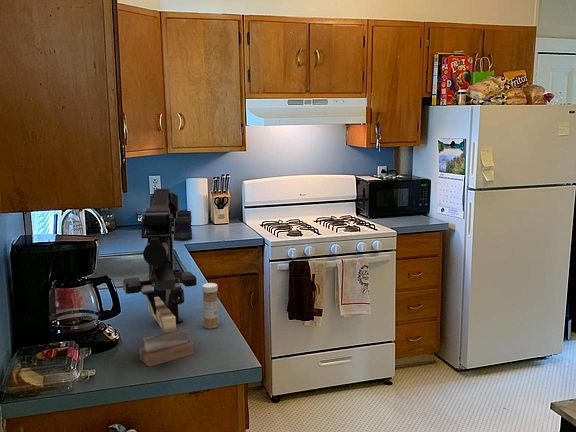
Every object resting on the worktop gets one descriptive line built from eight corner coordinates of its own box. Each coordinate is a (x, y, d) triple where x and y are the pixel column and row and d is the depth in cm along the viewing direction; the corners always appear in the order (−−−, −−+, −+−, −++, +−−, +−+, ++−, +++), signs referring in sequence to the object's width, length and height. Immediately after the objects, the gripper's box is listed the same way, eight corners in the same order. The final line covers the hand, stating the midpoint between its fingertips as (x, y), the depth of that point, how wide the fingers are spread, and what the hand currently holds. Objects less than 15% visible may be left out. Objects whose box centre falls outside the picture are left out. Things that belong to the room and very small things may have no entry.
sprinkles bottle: (212, 322, 178) (211, 281, 176) (221, 326, 175) (220, 284, 173) (200, 326, 175) (199, 284, 173) (209, 330, 172) (208, 287, 169)
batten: (176, 330, 145) (175, 317, 144) (164, 332, 143) (163, 318, 143) (159, 308, 163) (158, 296, 162) (148, 310, 161) (148, 298, 161)
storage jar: (195, 239, 302) (194, 212, 299) (177, 242, 297) (176, 213, 294) (188, 236, 310) (187, 209, 308) (170, 238, 305) (169, 211, 302)
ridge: (139, 359, 151) (138, 336, 150) (183, 347, 159) (182, 325, 158) (149, 366, 146) (148, 343, 145) (193, 354, 154) (192, 331, 153)
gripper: (128, 266, 139) (131, 327, 142) (201, 259, 147) (203, 317, 150) (121, 257, 149) (123, 314, 152) (190, 251, 157) (191, 305, 160)
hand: (161, 313), depth 153 cm, fingers closed on batten, 3 cm apart
